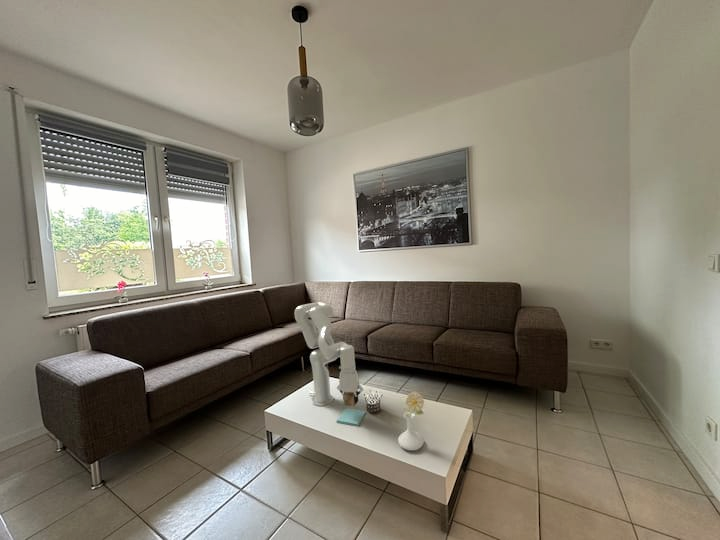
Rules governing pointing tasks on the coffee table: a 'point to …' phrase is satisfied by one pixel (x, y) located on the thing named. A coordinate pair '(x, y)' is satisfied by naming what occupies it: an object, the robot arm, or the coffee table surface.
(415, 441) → the flower in vase
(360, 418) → the teal board
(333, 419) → the coffee table surface
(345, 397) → the walnut block
